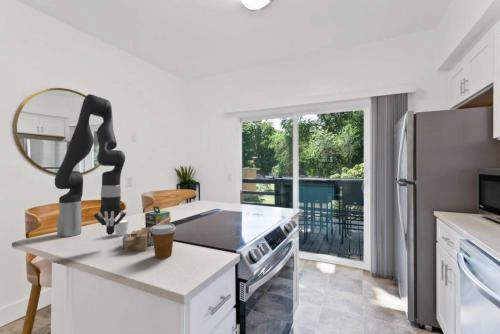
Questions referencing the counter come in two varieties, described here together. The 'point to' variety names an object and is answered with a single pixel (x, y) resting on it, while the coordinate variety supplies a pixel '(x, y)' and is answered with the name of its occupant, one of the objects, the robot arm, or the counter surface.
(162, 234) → the disposable coffee cup
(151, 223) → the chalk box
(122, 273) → the counter surface
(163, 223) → the keeper flap
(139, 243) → the hitch block
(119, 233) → the white cup
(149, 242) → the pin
